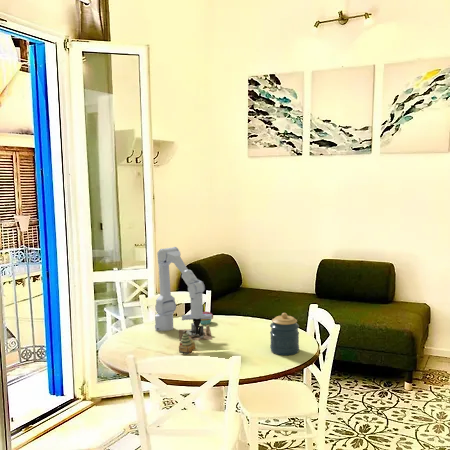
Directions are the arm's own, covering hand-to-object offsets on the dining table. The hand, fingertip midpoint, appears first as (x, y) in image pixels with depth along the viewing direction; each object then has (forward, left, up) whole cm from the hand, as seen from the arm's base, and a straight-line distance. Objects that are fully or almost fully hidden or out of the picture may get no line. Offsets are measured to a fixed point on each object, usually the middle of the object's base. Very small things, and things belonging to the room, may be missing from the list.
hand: (197, 333), depth 235 cm
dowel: (+6, +5, -3) cm, 8 cm away
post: (-1, +7, -3) cm, 8 cm away
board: (-1, +7, -3) cm, 8 cm away
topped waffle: (-5, -14, -4) cm, 16 cm away
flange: (0, +5, -2) cm, 5 cm away
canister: (+39, -20, -4) cm, 44 cm away
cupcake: (+6, +26, -4) cm, 27 cm away
